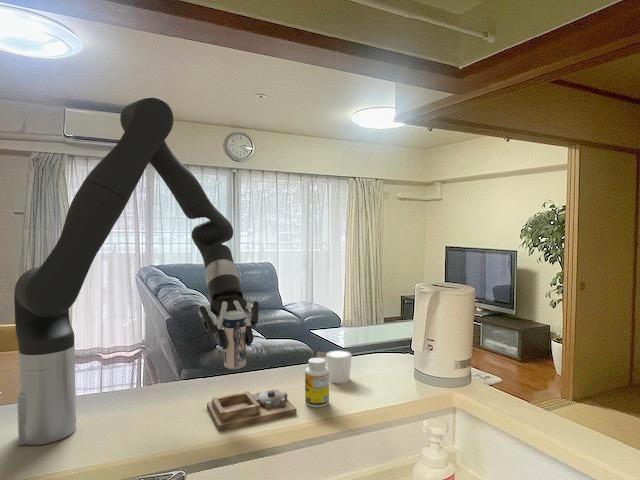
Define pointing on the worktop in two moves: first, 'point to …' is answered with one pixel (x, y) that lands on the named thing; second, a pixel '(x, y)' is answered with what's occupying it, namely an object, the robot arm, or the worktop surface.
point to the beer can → (235, 339)
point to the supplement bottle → (316, 383)
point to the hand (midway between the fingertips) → (237, 345)
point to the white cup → (339, 366)
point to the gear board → (249, 408)
